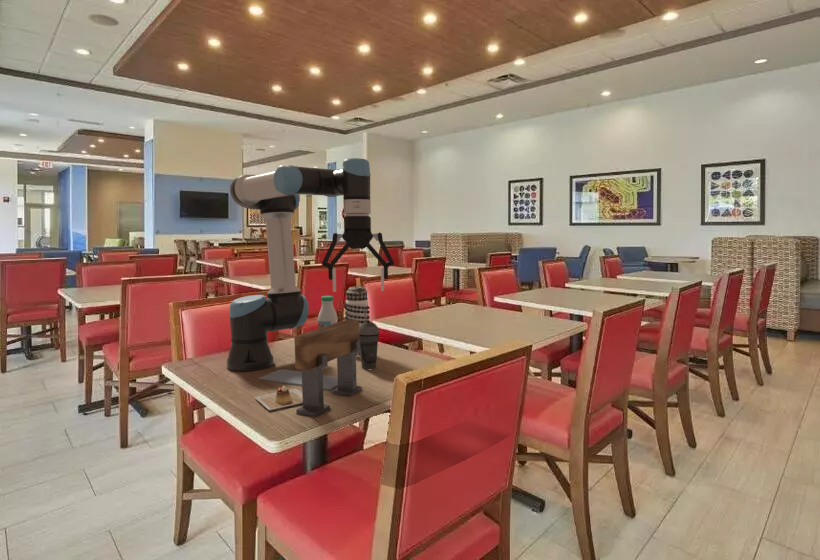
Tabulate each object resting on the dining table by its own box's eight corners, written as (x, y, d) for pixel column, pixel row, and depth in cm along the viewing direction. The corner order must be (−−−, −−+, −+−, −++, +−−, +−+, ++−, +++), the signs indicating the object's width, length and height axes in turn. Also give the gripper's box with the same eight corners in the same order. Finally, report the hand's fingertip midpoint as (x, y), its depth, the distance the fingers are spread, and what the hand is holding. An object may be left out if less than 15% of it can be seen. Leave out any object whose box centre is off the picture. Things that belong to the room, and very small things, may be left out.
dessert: (254, 400, 132) (253, 383, 131) (296, 392, 139) (295, 375, 138) (268, 414, 122) (268, 396, 122) (313, 404, 129) (312, 386, 128)
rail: (295, 368, 118) (294, 336, 118) (347, 346, 140) (347, 319, 139) (308, 370, 117) (307, 337, 116) (359, 347, 138) (359, 320, 138)
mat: (259, 379, 149) (259, 377, 149) (281, 370, 158) (281, 369, 158) (330, 390, 138) (330, 388, 138) (349, 380, 147) (349, 378, 147)
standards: (293, 412, 121) (291, 354, 120) (341, 386, 141) (339, 336, 140) (319, 417, 118) (317, 358, 116) (364, 390, 138) (363, 338, 136)
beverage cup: (376, 371, 156) (375, 310, 154) (355, 370, 157) (353, 309, 155) (382, 365, 163) (381, 306, 161) (361, 364, 164) (360, 306, 162)
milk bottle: (331, 343, 195) (330, 294, 193) (342, 346, 189) (341, 296, 187) (314, 346, 190) (313, 296, 188) (325, 350, 184) (324, 298, 182)
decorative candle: (341, 353, 179) (340, 286, 176) (365, 350, 183) (364, 285, 180) (350, 359, 171) (348, 289, 168) (374, 356, 175) (373, 287, 172)
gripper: (310, 215, 130) (312, 293, 133) (402, 214, 132) (403, 291, 135) (313, 216, 138) (315, 289, 140) (400, 215, 140) (401, 288, 142)
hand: (358, 290), depth 137 cm, fingers open, 13 cm apart
